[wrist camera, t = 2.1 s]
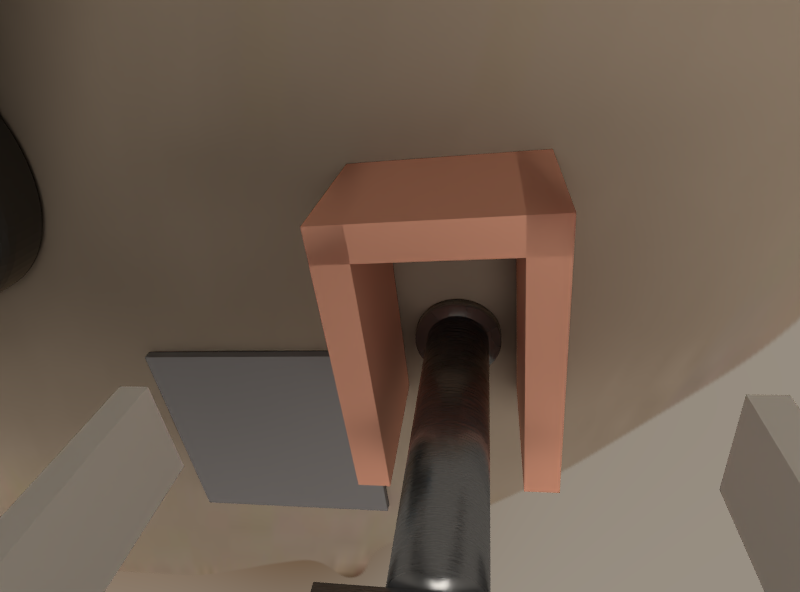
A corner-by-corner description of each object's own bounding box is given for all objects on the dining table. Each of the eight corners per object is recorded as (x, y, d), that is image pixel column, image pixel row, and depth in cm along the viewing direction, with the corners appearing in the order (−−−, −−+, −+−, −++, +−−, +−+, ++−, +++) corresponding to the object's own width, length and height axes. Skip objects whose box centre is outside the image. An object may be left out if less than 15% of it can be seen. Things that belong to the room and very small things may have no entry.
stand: (392, 368, 30) (321, 662, 17) (382, 301, 27) (292, 583, 15) (531, 367, 28) (568, 688, 16) (533, 297, 26) (576, 605, 13)
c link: (383, 385, 30) (358, 484, 25) (346, 163, 24) (300, 226, 18) (544, 386, 29) (559, 492, 23) (552, 149, 22) (576, 212, 16)
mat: (212, 496, 38) (209, 502, 38) (149, 352, 32) (144, 357, 31) (388, 504, 36) (387, 510, 35) (360, 350, 29) (358, 356, 29)
